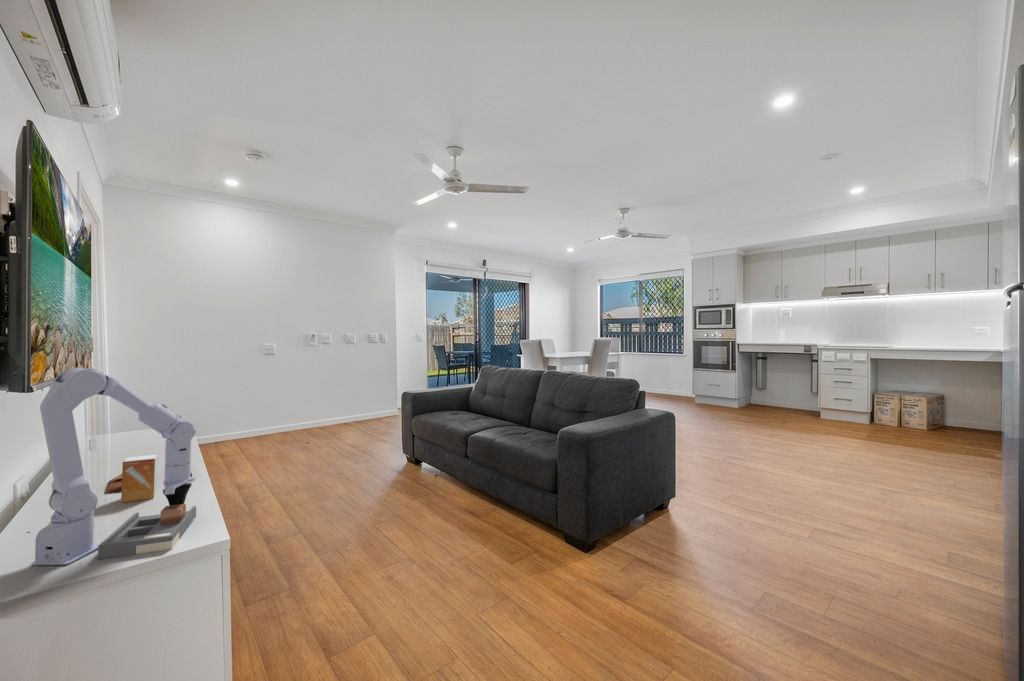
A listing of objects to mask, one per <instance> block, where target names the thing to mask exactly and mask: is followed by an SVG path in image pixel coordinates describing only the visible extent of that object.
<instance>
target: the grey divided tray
mask: <svg viewBox="0 0 1024 681" xmlns="http://www.w3.org/2000/svg"><path fill="white" fill-rule="evenodd" d="M160 515H161V513H160V514H152V515H143V516H140V512H134V514H132V515H131V516H130V517H129V518H128V519H127V520H125V521H124V522H123V523H122V524H121V525H120V526H119V527H118V528H117V529H116V530H114V531H113V532H112V533H111V534H109V536H108V537H107V538H105V539H104V540H103V541H102V542H101V543H99V544H100V545H99V546H98V549H97V560H104V559H111V558H113V559H114V558H118V557H119V558H120V557H125V556H132V555H133V556H134V555H139V554H145V553H146V554H147V553H152V552H160V551H161V552H162V551H168V550H173V549H174V547H175V546H176V544H177V543H178V541H179V540H180V539H181V537H182V536H183V535H185V533H186V532H187V530H188V529H189V527H190V526H191V525H192V523H193V522H194V521H193V519H194V518H195V517H196V518H197V506H196V505H194V506H193V505H192V507H191V508H190V510H186V515H185V517H184V518H183V519H182V520H181V522H180V523H173V524H165V525H160ZM196 518H195V519H196ZM195 519H194V520H195ZM192 521H193V522H192ZM191 522H192V523H191ZM190 524H191V525H190ZM189 525H190V526H189ZM187 528H188V529H187ZM186 529H187V530H186ZM184 532H185V533H184Z"/></svg>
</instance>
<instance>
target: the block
mask: <svg viewBox="0 0 1024 681" xmlns="http://www.w3.org/2000/svg"><path fill="white" fill-rule="evenodd" d="M186 511H187V504H186V503H184V504H180V505H171V506H170V505H166V506H164V508H163V509H162V510H161V511H160V514H161V515H160V525H165V524H173V523H180V522H181V520H182V519H183V518H184V517H185V515H186Z"/></svg>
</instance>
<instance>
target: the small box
mask: <svg viewBox="0 0 1024 681" xmlns="http://www.w3.org/2000/svg"><path fill="white" fill-rule="evenodd" d="M158 456H159V455H158V454H150V455H137V456H129V457H125V459H124V460H123V461H122V469H121V470H122V472H121V474H122V492H121V498H120V500H121V501H120V502H121V503H127V502H135V501H142V500H143V501H145V500H153V499H154V498H155V497H156V494H157V490H158V489H157V488H158V486H157V485H158V459H159V458H158ZM152 498H153V499H152Z"/></svg>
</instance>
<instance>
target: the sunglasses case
mask: <svg viewBox="0 0 1024 681" xmlns="http://www.w3.org/2000/svg"><path fill="white" fill-rule="evenodd" d="M117 492H118V493H122V473H121V474H119V475H117V476H115V477H114V478H112V479H110V480H108V486H107V488H106V490H105V492H104V494H105V495H111V494H117Z"/></svg>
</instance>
